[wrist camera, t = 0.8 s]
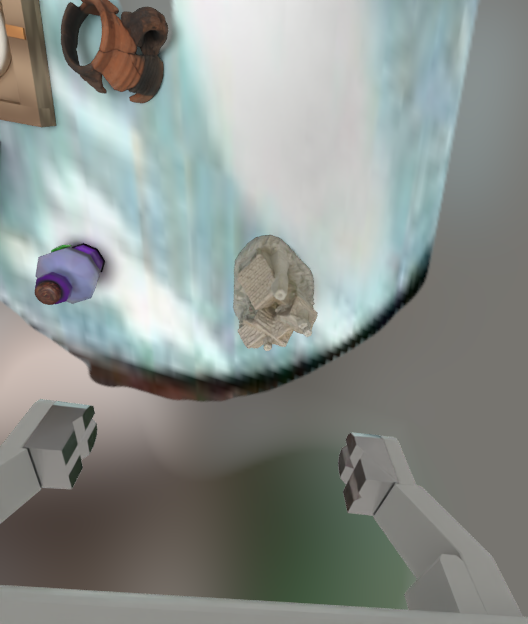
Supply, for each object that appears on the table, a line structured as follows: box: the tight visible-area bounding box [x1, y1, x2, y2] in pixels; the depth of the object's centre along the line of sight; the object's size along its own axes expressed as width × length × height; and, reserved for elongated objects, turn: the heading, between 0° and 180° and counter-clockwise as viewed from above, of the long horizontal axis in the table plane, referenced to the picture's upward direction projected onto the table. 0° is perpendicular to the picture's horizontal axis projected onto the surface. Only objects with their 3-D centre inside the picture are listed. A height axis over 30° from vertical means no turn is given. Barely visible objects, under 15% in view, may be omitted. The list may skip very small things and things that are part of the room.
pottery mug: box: [61, 0, 168, 103], centre depth 37 cm, size 12×10×8 cm
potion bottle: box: [35, 243, 105, 305], centre depth 48 cm, size 9×9×12 cm
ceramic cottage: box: [233, 235, 317, 351], centre depth 51 cm, size 16×16×15 cm
